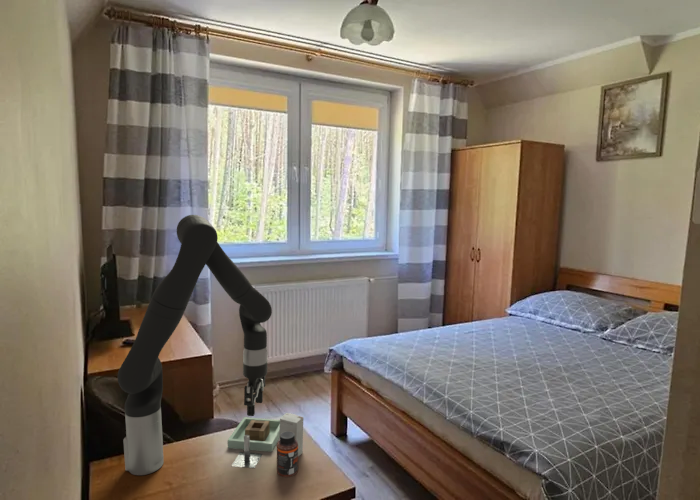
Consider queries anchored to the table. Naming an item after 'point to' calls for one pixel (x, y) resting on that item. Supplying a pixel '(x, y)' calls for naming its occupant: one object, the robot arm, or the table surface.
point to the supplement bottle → (287, 454)
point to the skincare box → (293, 428)
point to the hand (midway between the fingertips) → (255, 408)
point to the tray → (267, 445)
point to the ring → (258, 430)
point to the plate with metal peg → (247, 456)
